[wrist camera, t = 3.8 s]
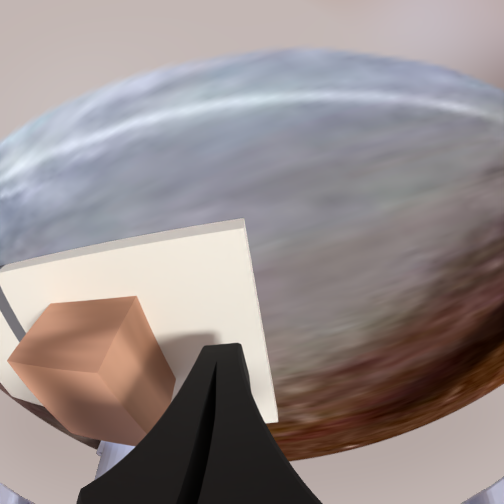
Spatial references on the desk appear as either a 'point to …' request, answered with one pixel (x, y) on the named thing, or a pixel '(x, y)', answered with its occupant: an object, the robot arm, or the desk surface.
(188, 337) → the board
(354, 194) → the desk surface
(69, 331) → the block
